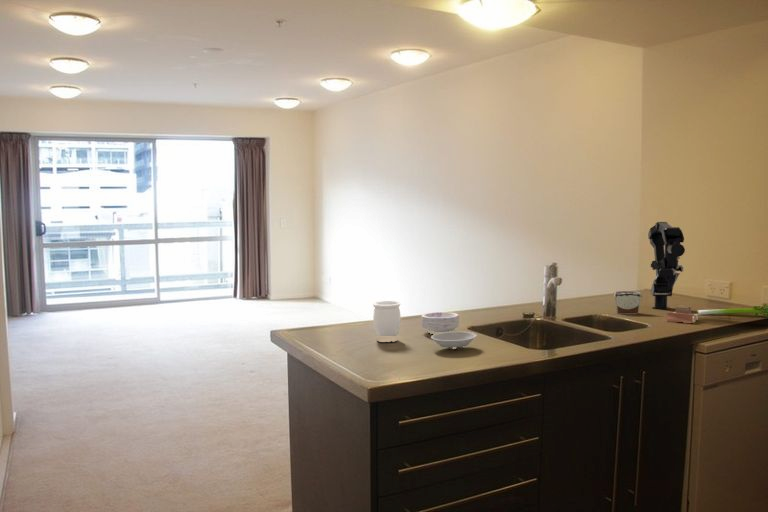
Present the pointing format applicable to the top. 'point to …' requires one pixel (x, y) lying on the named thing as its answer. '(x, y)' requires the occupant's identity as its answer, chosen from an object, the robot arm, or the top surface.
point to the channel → (681, 317)
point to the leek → (737, 311)
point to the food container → (627, 302)
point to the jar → (387, 318)
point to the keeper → (683, 309)
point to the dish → (453, 339)
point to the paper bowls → (440, 321)
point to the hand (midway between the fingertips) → (670, 288)
